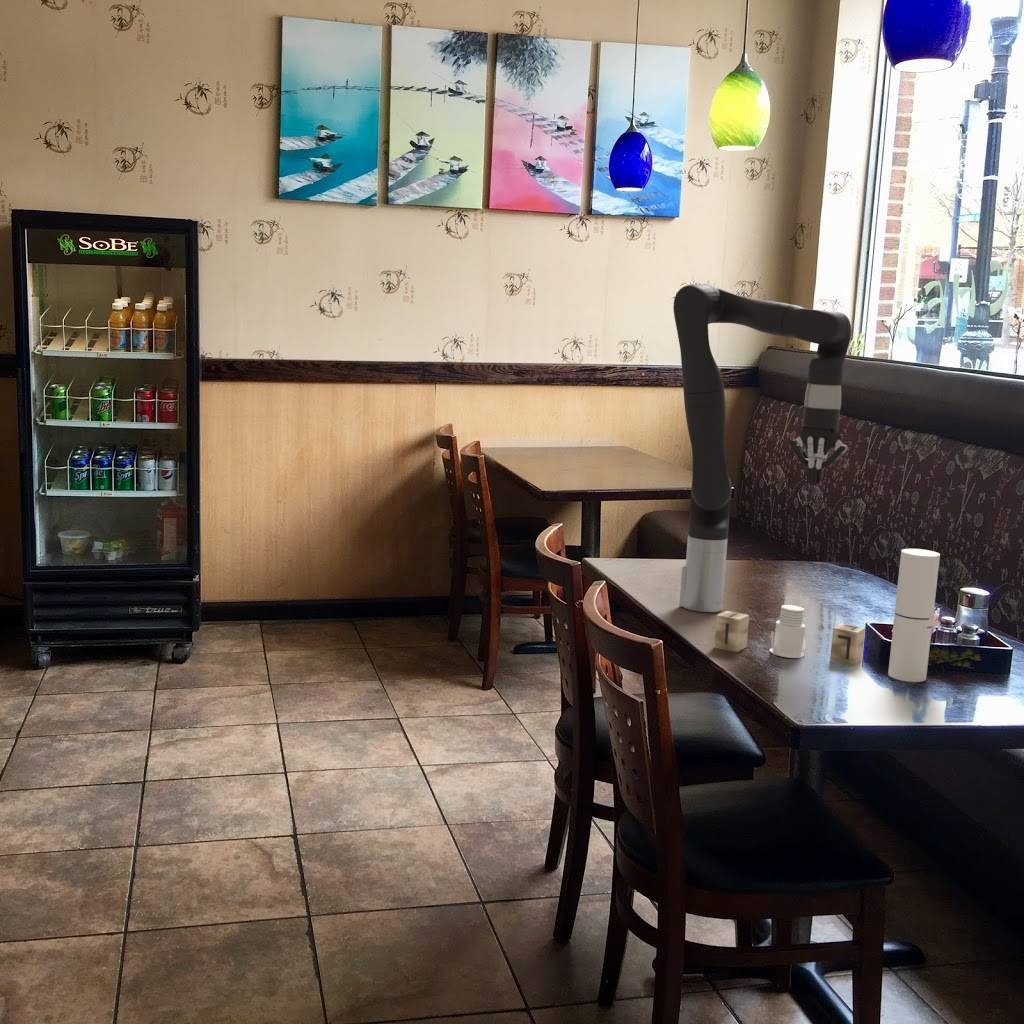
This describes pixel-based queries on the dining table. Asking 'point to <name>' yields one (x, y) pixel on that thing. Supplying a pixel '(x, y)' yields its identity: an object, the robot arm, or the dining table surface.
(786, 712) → the dining table surface
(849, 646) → the birch block seven
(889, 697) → the dining table surface
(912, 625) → the cylindrical container
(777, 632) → the downlight
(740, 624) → the birch block one
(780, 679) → the dining table surface
